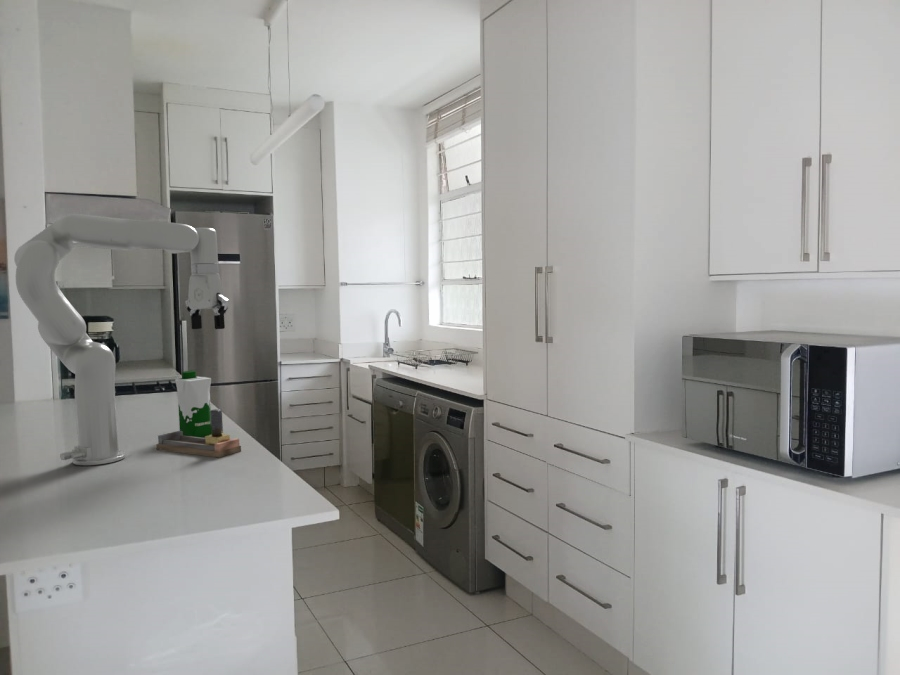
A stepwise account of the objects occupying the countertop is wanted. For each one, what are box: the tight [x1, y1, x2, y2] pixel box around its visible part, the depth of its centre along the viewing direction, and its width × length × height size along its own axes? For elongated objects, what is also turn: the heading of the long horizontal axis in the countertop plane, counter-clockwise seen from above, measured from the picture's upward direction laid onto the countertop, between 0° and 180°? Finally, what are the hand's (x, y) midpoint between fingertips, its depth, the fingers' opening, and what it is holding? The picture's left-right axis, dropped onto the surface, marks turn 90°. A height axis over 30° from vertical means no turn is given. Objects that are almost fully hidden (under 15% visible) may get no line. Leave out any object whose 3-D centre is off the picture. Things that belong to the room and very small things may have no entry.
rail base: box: [155, 430, 242, 458], centre depth 194 cm, size 8×25×4 cm, turn 60°
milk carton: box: [174, 370, 212, 438], centre depth 212 cm, size 9×9×20 cm
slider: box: [204, 408, 231, 445], centre depth 189 cm, size 4×5×10 cm
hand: (208, 328), depth 204 cm, fingers open, 9 cm apart
